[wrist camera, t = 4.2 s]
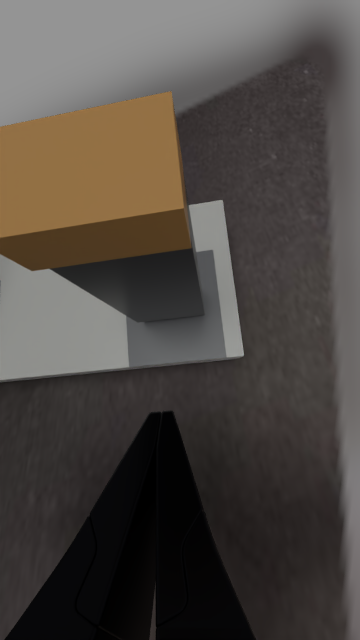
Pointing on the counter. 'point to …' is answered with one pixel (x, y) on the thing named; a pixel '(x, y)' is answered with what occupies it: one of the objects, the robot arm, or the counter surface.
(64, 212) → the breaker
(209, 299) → the grey mounting base
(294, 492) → the counter surface
